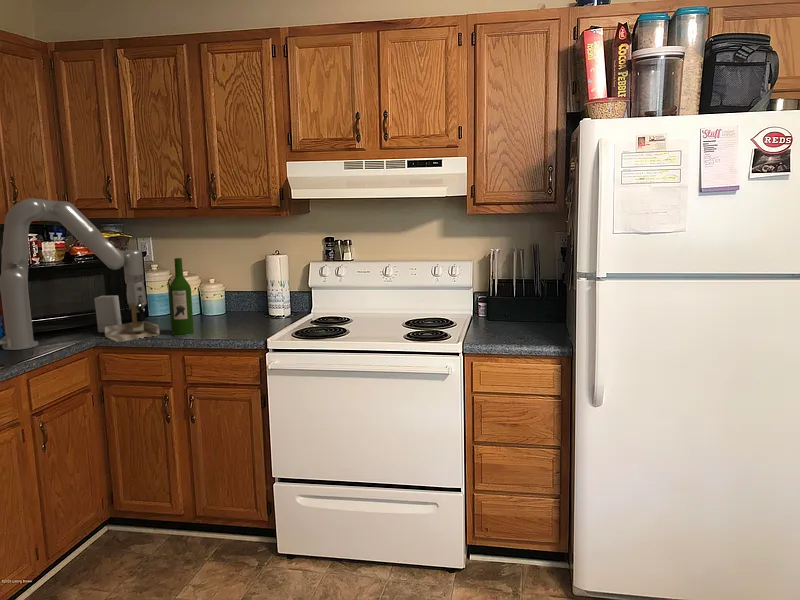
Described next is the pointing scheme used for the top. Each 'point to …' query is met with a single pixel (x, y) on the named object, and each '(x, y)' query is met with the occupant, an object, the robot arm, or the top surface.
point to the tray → (130, 331)
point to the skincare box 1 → (107, 311)
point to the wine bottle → (180, 302)
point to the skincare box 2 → (136, 325)
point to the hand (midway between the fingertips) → (137, 319)
